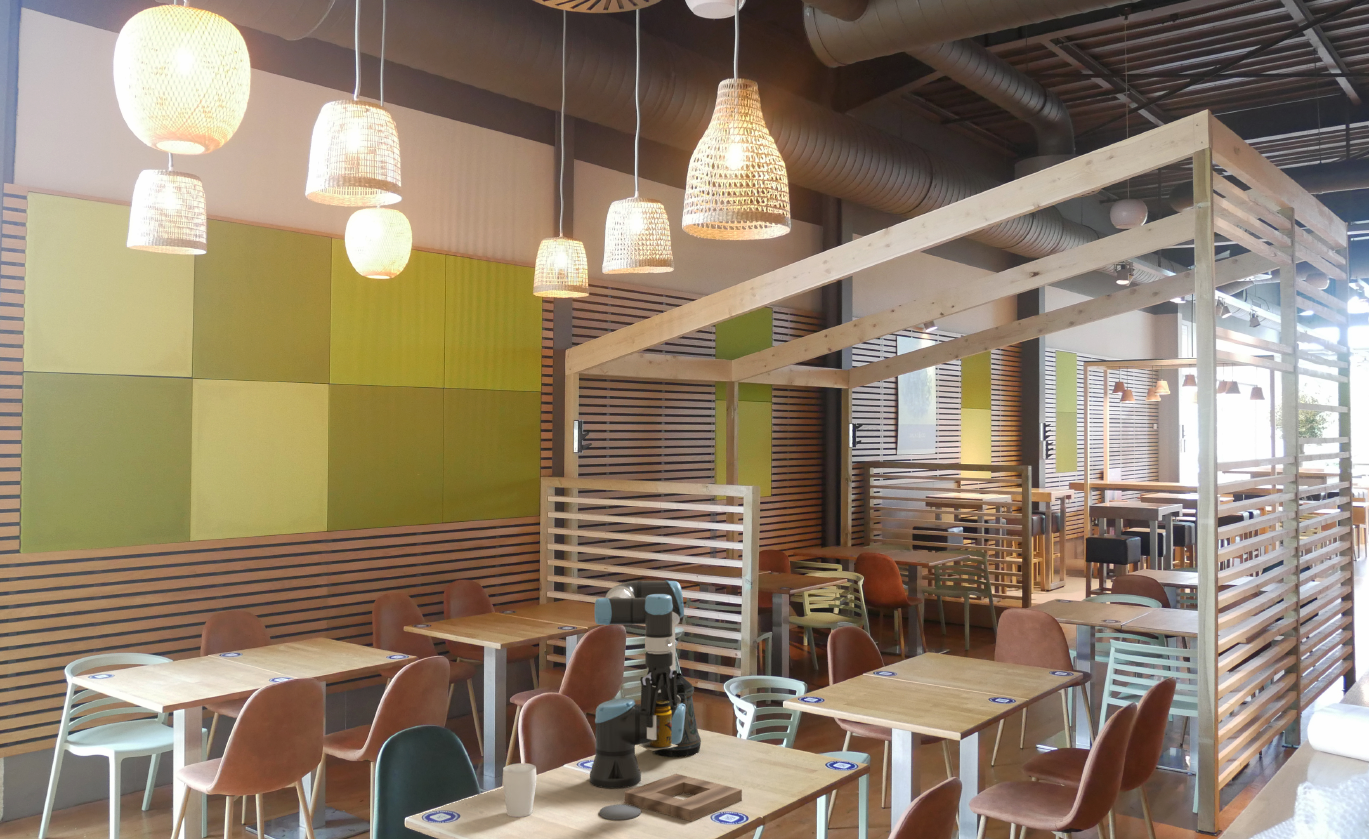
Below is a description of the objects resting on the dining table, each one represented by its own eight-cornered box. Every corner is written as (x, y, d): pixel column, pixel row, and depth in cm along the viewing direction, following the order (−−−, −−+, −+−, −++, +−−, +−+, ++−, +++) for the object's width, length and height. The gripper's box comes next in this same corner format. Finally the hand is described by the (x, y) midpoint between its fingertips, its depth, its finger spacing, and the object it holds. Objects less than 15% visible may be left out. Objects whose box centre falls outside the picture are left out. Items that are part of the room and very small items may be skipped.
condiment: (678, 746, 280) (678, 701, 280) (652, 751, 275) (652, 706, 275) (662, 740, 285) (662, 697, 286) (637, 745, 280) (637, 701, 281)
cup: (521, 805, 281) (521, 761, 281) (543, 812, 275) (543, 766, 276) (495, 814, 274) (495, 768, 275) (518, 821, 268) (518, 774, 269)
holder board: (624, 802, 283) (624, 791, 283) (676, 783, 299) (676, 773, 300) (691, 821, 267) (691, 809, 267) (741, 800, 284) (741, 789, 284)
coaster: (590, 814, 273) (590, 811, 273) (619, 803, 282) (619, 801, 282) (620, 822, 266) (620, 820, 266) (649, 812, 275) (649, 809, 275)
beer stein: (680, 741, 347) (679, 666, 348) (717, 753, 332) (716, 675, 333) (640, 749, 337) (640, 672, 338) (676, 762, 321) (676, 682, 323)
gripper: (647, 658, 272) (648, 746, 271) (690, 647, 287) (690, 731, 286) (626, 655, 277) (626, 741, 275) (669, 645, 292) (669, 727, 291)
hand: (659, 736), depth 281 cm, fingers closed on condiment, 6 cm apart
